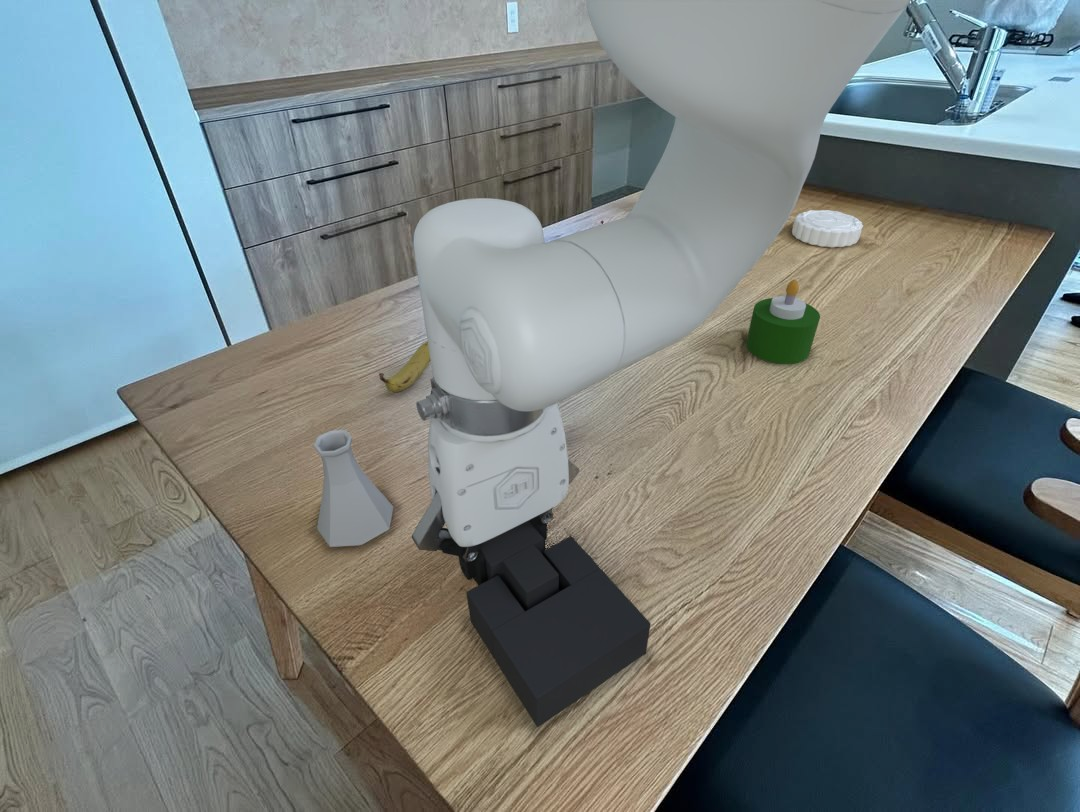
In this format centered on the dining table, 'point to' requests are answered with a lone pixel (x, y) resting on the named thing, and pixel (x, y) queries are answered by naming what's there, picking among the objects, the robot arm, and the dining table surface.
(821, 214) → the mooncake
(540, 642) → the notch pad
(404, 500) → the dining table surface
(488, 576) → the pad
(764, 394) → the dining table surface
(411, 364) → the banana
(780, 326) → the candle
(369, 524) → the flask
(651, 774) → the dining table surface
